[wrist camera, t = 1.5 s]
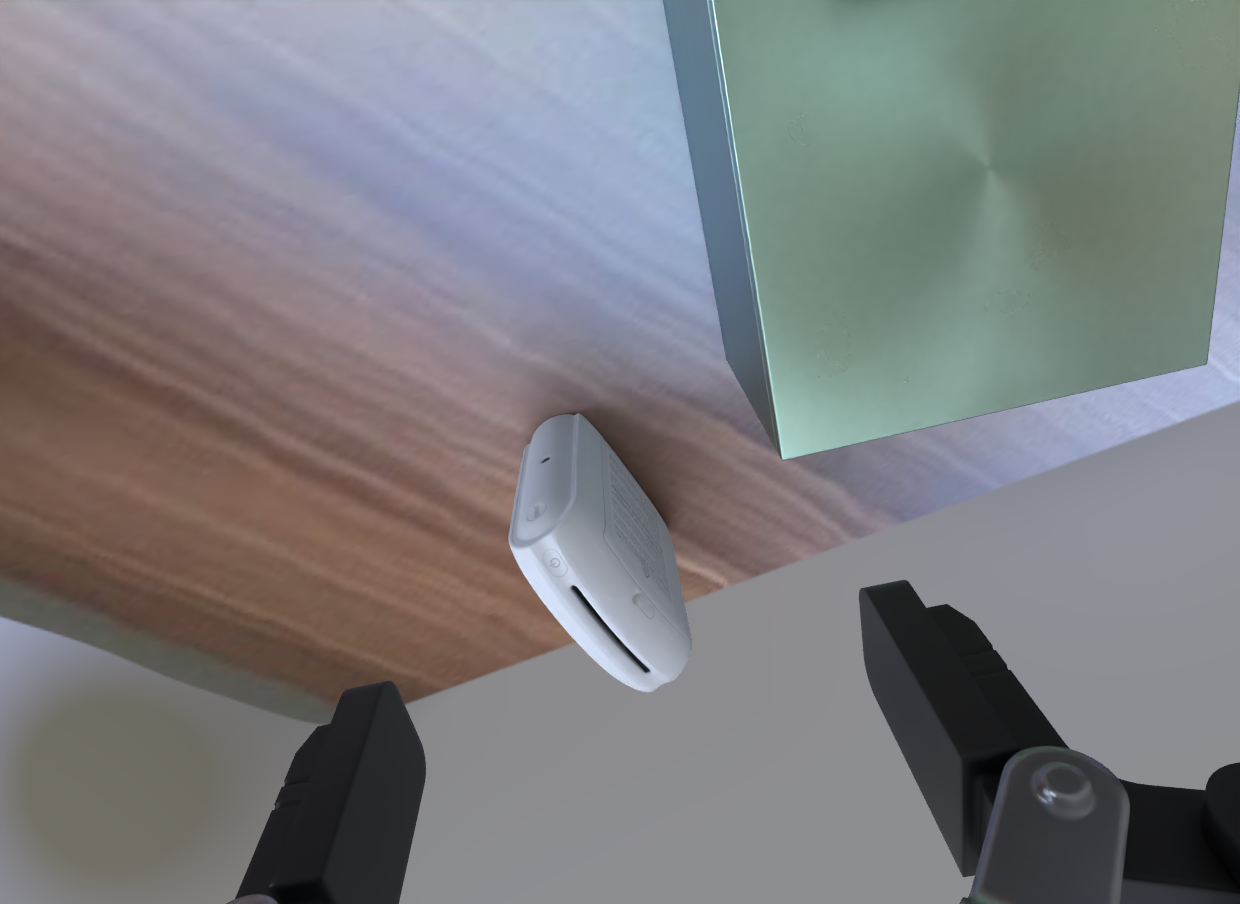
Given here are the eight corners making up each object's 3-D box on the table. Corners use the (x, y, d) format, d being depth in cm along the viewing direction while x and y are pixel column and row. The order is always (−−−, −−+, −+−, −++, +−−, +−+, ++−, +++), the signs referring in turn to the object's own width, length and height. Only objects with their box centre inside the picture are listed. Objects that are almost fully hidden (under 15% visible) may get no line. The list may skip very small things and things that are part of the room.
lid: (693, -87, 22) (729, -140, 17) (1257, -238, 21) (1474, -340, 16) (776, 452, 29) (818, 528, 24) (1192, 357, 28) (1324, 416, 23)
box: (660, -11, 32) (698, -54, 22) (1038, -111, 31) (1252, -201, 21) (726, 360, 39) (776, 452, 29) (1033, 287, 38) (1191, 357, 29)
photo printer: (511, 438, 40) (486, 572, 29) (577, 395, 40) (577, 517, 28) (617, 570, 44) (631, 731, 33) (680, 533, 44) (715, 687, 32)
